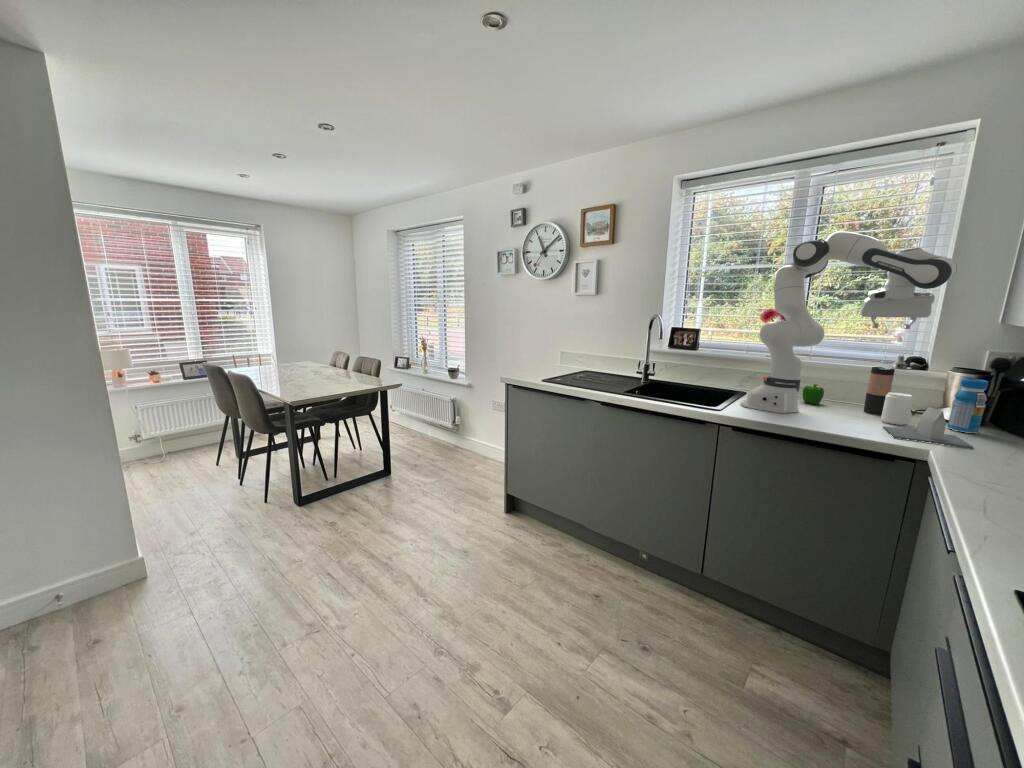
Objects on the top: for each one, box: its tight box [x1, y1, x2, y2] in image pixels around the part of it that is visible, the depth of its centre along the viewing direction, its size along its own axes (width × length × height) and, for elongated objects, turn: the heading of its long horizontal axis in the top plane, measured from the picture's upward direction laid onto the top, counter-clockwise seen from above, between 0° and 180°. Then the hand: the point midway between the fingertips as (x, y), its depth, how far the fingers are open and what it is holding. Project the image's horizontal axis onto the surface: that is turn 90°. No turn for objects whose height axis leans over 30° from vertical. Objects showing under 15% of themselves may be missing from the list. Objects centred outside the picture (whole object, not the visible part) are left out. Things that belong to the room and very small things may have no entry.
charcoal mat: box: [882, 426, 974, 450], centre depth 146 cm, size 20×14×1 cm
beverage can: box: [880, 391, 914, 426], centre depth 163 cm, size 8×8×12 cm
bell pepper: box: [802, 382, 825, 405], centre depth 194 cm, size 8×8×10 cm
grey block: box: [916, 406, 947, 440], centre depth 145 cm, size 4×7×10 cm, turn 166°
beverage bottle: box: [946, 377, 989, 434], centre depth 154 cm, size 8×8×20 cm
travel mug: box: [863, 366, 896, 416], centre depth 178 cm, size 8×8×20 cm
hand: (890, 328), depth 161 cm, fingers open, 8 cm apart
